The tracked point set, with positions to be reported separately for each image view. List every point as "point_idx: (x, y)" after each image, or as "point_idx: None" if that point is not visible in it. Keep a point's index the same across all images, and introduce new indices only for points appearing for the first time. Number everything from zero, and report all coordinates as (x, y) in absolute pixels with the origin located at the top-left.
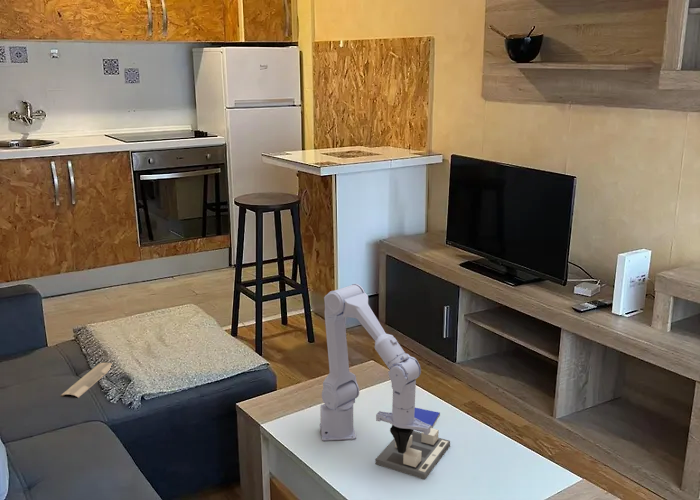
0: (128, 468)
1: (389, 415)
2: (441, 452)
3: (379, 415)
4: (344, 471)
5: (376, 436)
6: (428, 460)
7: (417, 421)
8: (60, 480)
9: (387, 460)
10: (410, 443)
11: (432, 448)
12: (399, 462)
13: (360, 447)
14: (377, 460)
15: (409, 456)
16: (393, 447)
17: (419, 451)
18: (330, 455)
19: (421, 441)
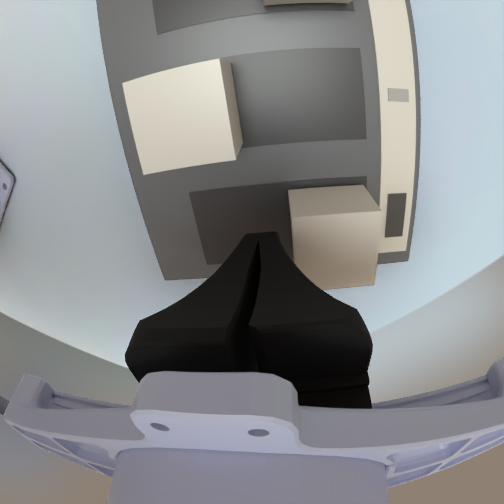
0: (5, 399)
1: (96, 463)
2: (415, 45)
3: (60, 455)
4: None
5: (40, 97)
6: (393, 157)
7: (423, 429)
8: None
9: (212, 265)
10: (231, 89)
11: (357, 29)
12: None
13: (57, 207)
14: (175, 277)
15: (334, 287)
16: None
17: (371, 222)
18: (52, 295)
19: (265, 5)
